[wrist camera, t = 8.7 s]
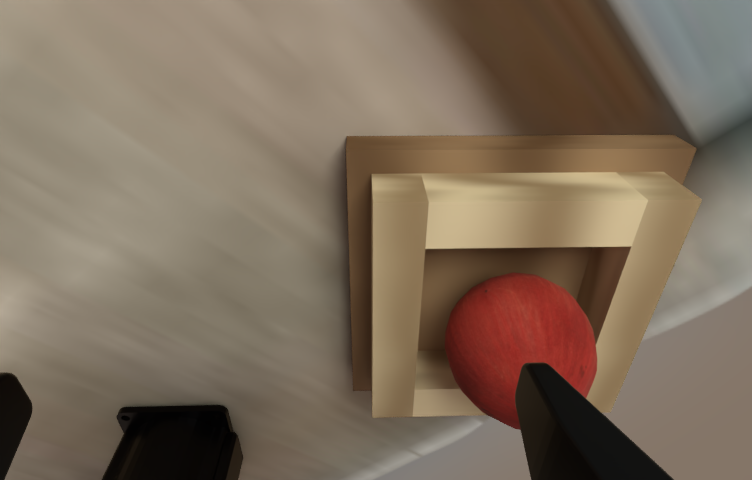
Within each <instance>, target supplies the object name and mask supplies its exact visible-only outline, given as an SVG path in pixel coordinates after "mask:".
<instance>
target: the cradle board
mask: <svg viewBox="0 0 752 480" xmlns="http://www.w3.org/2000/svg"><path fill="white" fill-rule="evenodd" d="M696 149H697V148H695V147H693V146H692V145H690V144H688V143H687V142H685V141H683V140H681V139H680V138H678V137H676V136H675V135H545V136H347V142H346V168H347V202H348V235H349V268H350V301H351V334H352V367H353V391H364V390H372V418H378V417H423V416H468V415H486V414H484V413H483V412H482V411H481V410H480V409H478V408H477V407H476V406H475V405H474V404H473V403H472V402H471V401H470V399H469V398H468V397H467V396H466V395H465V394H464V393H463V392H462V391H461V389H460V387H459V386H458V384H457V383H456V381H455V379H454V376H453V374H452V371H451V368H450V365H449V361H448V358H447V354H446V350H445V331H446V328H447V324H448V321H449V317H450V314H451V311H452V310H453V308H454V307H455V305H456V304H457V302H458V301H459V300H460V299H461V298H462V297H463V296H464V295H465V294H466V293H467V292H468V291H469V290H470V289H471V288H472V287H474V286H476V285H478V284H480V283H482V282H484V281H486V280H488V279H490V278H492V277H496V276H501V275H505V274H509V273H513V272H515V273H525V274H535V275H537V276H540V277H542V278H544V279H547V280H549V281H551V282H553V283H555V284H557V285H559V286H561V287H563V288H565V289H566V290H567V291H568V292H569V294H570V295H571V296H572V297H573V298H574V299H575V300H576V301H577V303H578V304H579V306H580V307H581V308H582V310H583V311H584V313H585V314H586V316H587V318H588V320H589V322H590V324H591V326H592V329H593V333H594V338H595V344H596V352H597V372H596V375H595V378H594V381H593V384H592V386H591V388H590V391H589V393H588V395H587V398H586V399H587V400H588V401H589V402H590V403H591V404H593V405H594V406H595V407H596V408H597V409H598V410H599V411H600V412H601V413H603V412H611V410H612V407H613V405H614V403H615V401H616V398H617V396H618V393H619V391H620V389H621V387H622V384H623V382H624V380H625V377H626V375H627V373H628V370H629V368H630V366H631V364H632V361H633V359H634V356H635V354H636V352H637V349H638V347H639V345H640V343H641V340H642V338H643V336H644V333H645V331H646V329H647V326H648V324H649V322H650V319H651V317H652V315H653V313H654V310H655V308H656V306H657V303H658V301H659V299H660V296H661V294H662V292H663V289H664V287H665V285H666V282H667V280H668V278H669V275H670V273H671V271H672V268H673V266H674V264H675V262H676V259H677V257H678V255H679V252H680V250H681V248H682V245H683V243H684V241H685V238H686V236H687V234H688V231H689V229H690V227H691V224H692V222H693V220H694V217H695V215H696V213H697V211H698V208H699V206H700V204H701V201H702V199H700V198H699V197H698V196H696V195H695V194H693V193H692V192H691V191H689V190H688V189H687V188H685V187H684V186H682V184H683V182H684V179H685V177H686V174H687V172H688V169H689V167H690V164H691V162H692V159H693V157H694V154H695V152H696Z"/></svg>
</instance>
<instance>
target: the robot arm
mask: <svg viewBox="0 0 752 480" xmlns="http://www.w3.org/2000/svg"><path fill="white" fill-rule="evenodd" d="M515 405H516V410H517V415H518V419H519V424H520V429H521V433H522V438H523V443H524V448H525V452H526V457H527V461H528V466H529V471H530V476H531V480H674V479H673V478H672V477H671V476H669V475H668V474H667V473H666V472H665V471H664V470H663V469H662V468H661V467H659V465H657V464H656V463H655V462H654V461H653V460H652V459H651V458H650V457H649V456H648V455H647V454H646V453H645V452H643V451H642V450H641V449H640V448H639V447H638V446H637V445H636V444H635V443H634V442H632V440H630V439H629V438H628V437H627V436H626V435H625V434H624V433H623V432H622V431H621V430H620V429H618V428H617V427H616V426H615V425H614V424H613V423H612V422H611V421H610V420H609V419H608V418H607V417H606V416H604V415H603V414H602V413H601V412H600V411H599V410H598V409H597V408H596V407H595V406H594V405H593V404H591V403H590V402H589V401H588V400H587V399H586V398H585V397H584V396H583V395H582V394H581V393H580V392H578V391H577V390H576V389H575V388H574V387H573V386H572V385H571V384H570V383H569V382H568V381H567V380H565V379H564V378H563V377H562V376H561V375H560V374H559V373H558V372H557V371H556V370H555V369H554V368H552V367H551V366H550V365H549V364H547V363H544V362H533V363H525V364H524V365H523V366H522V368H521V372H520V376H519V380H518V384H517V388H516V392H515ZM31 414H32V403H31V400H30V399H29V397H28V395H27V394H26V392H25V390H24V389H23V387H22V385H21V384H20V382H19V380H18V379H17V377H16V376H15V375H13V374H12V373H0V480H4V479H5V477H6V474H7V472H8V470H9V467H10V465H11V463H12V460H13V458H14V456H15V453H16V451H17V448H18V446H19V444H20V441H21V439H22V437H23V434H24V432H25V430H26V427H27V425H28V422H29V420H30V418H31ZM117 419H118V422H119V424H120V426H121V428H122V430H123V432H124V435H123V437H122V439H121V441H120V443H119V445H118V447H117V449H116V451H115V454H114V456H113V458H112V460H111V462H110V464H109V466H108V468H107V470H106V472H105V474H104V476H103V478H102V480H238V478H239V473H240V469H241V464H242V460H243V455H242V451H241V447H240V443H239V439H238V436H237V434H236V433H235V432H233V429H232V425H231V421H230V417H229V413H228V410H227V408H226V407H224V406H221V405H205V406H158V407H124V408H121V409H120V411H119V413H118V415H117Z"/></svg>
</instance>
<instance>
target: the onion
mask: <svg viewBox="0 0 752 480" xmlns="http://www.w3.org/2000/svg"><path fill="white" fill-rule="evenodd" d="M445 350H446V354H447V358H448V361H449V365H450V368H451V371H452V374H453V376H454V379H455V381H456V383H457V384H458V386H459V387H460V389H461V391H462V392H463V393H464V394H465V395H466V396H467V397H468V398H469V399H470V401H471V402H472V403H473V404H474V405H475V406H476V407H477V408H478V409H480V410H481V411H482V412H483V413H484V414H486V415H488V416H490V417H492V418H494V419H497V420H499V421H500V422H502V423H504V424H506V425H509V426H511V427H513V428H515V429H520V424H519V419H518V415H517V410H516V405H515V392H516V388H517V384H518V380H519V376H520V372H521V368H522V366H523V365H524V364H525V363H533V362H544V363H547V364H549V365H550V366H551V367H552V368H554V369H555V370H556V371H557V372H558V373H559V374H560V375H561V376H562V377H563V378H564V379H565V380H567V381H568V382H569V383H570V384H571V385H572V386H573V387H574V388H575V389H576V390H577V391H578V392H580V393H581V394H582V395H583V396H584V397H585V398H587V395H588V393H589V391H590V388H591V386H592V384H593V381H594V378H595V375H596V372H597V352H596V344H595V338H594V333H593V329H592V326H591V324H590V322H589V320H588V318H587V316H586V314H585V313H584V311H583V310H582V308H581V307H580V306H579V304H578V303H577V301H576V300H575V299H574V298H573V297H572V296H571V295H570V294H569V292H568V291H567V290H566V289H565V288H563V287H561V286H559V285H557V284H555V283H553V282H551V281H549V280H547V279H544V278H542V277H540V276H537V275H535V274H525V273H515V272H513V273H509V274H505V275H501V276H496V277H492V278H490V279H488V280H486V281H484V282H482V283H480V284H478V285H476V286H474V287H472V288H471V289H470V290H469V291H468V292H467V293H466V294H465V295H464V296H463V297H462V298H461V299H460V300H459V301H458V302H457V304H456V305H455V307H454V308H453V310H452V311H451V314H450V317H449V321H448V324H447V328H446V331H445ZM520 430H521V429H520Z"/></svg>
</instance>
